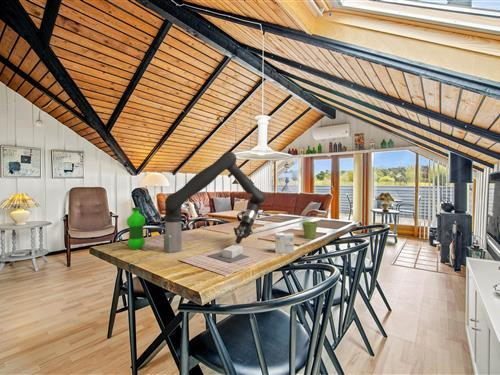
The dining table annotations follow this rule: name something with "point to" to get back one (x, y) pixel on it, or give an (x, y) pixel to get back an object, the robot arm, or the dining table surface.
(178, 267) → the dining table surface
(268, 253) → the dining table surface
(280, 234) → the light bulb box
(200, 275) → the dining table surface
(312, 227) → the plant pot
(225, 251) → the skincare box
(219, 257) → the mat
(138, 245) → the plastic bottle
